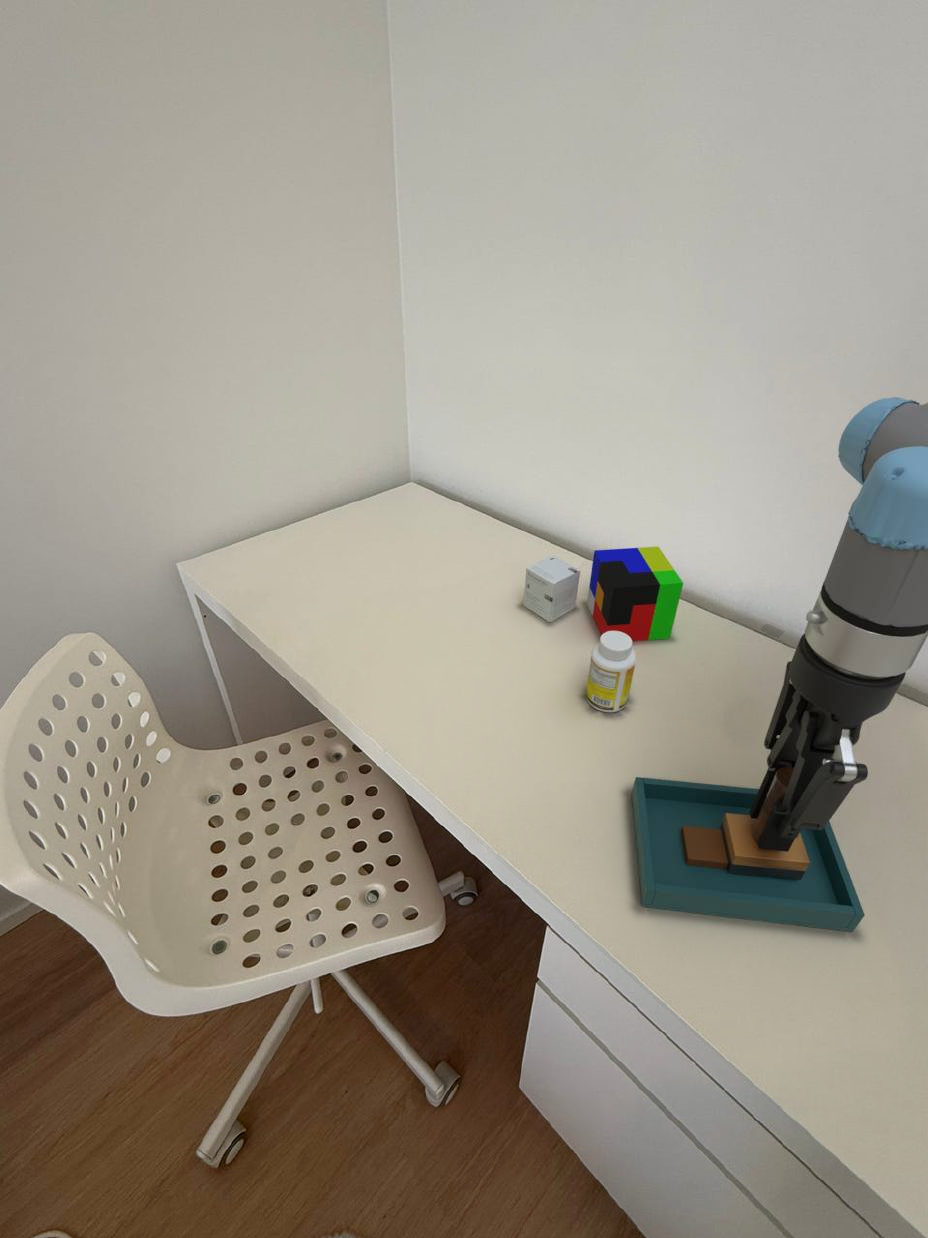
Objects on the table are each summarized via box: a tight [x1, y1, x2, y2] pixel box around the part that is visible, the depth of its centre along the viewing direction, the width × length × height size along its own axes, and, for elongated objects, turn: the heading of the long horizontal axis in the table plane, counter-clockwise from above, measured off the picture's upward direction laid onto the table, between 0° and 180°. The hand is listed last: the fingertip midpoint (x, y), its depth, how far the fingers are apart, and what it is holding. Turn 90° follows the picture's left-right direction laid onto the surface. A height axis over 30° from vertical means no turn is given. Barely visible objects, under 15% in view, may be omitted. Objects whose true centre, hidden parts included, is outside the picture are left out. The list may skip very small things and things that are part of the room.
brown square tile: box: [681, 825, 729, 869], centre depth 67 cm, size 4×4×1 cm
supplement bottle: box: [585, 631, 637, 713], centre depth 83 cm, size 6×6×10 cm
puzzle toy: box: [586, 546, 684, 642], centre depth 97 cm, size 10×10×10 cm
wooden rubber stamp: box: [720, 767, 810, 880], centre depth 63 cm, size 7×5×12 cm
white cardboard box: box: [522, 555, 581, 623], centre depth 101 cm, size 6×6×7 cm
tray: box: [631, 776, 866, 933], centre depth 67 cm, size 20×14×3 cm
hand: (768, 831), depth 64 cm, fingers closed on wooden rubber stamp, 3 cm apart
